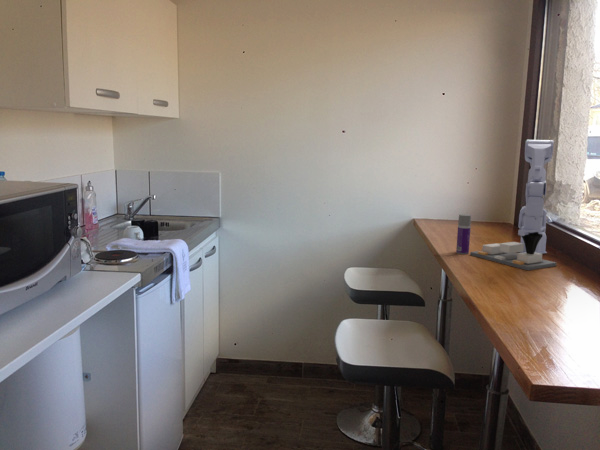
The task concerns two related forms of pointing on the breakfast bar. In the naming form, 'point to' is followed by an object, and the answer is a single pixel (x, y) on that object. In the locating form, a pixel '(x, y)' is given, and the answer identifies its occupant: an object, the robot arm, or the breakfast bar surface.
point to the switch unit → (512, 260)
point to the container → (463, 234)
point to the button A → (492, 248)
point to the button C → (530, 257)
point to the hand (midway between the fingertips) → (530, 253)
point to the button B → (511, 247)
